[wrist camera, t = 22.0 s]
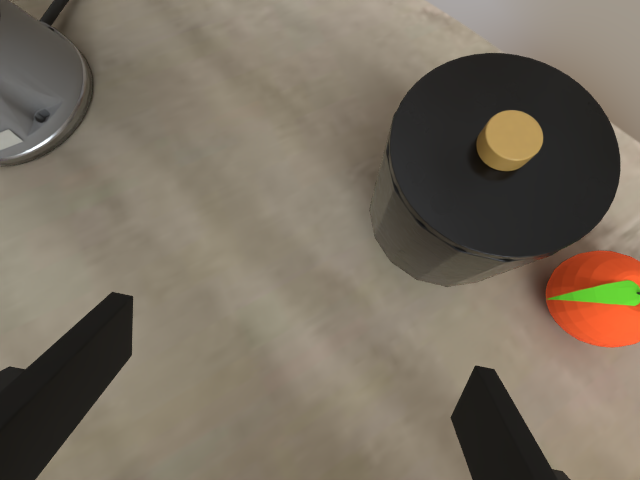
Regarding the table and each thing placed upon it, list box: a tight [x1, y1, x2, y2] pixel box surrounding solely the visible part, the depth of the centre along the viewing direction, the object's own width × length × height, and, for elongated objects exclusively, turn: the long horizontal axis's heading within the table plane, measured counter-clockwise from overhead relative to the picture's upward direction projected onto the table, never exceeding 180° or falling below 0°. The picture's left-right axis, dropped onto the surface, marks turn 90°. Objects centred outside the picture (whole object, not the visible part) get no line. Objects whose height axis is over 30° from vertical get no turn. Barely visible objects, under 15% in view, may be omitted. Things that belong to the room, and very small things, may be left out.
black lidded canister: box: [370, 53, 620, 287], centre depth 22 cm, size 11×11×11 cm
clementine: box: [546, 251, 640, 347], centre depth 27 cm, size 8×7×7 cm
